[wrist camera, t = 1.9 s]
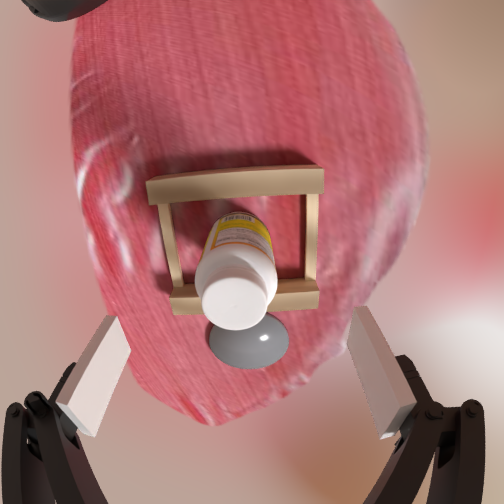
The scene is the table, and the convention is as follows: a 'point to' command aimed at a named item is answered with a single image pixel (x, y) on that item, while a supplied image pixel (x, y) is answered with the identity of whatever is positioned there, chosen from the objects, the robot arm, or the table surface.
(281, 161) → the table surface
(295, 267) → the table surface
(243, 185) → the open wooden frame
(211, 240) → the supplement bottle
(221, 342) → the coaster
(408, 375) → the robot arm
